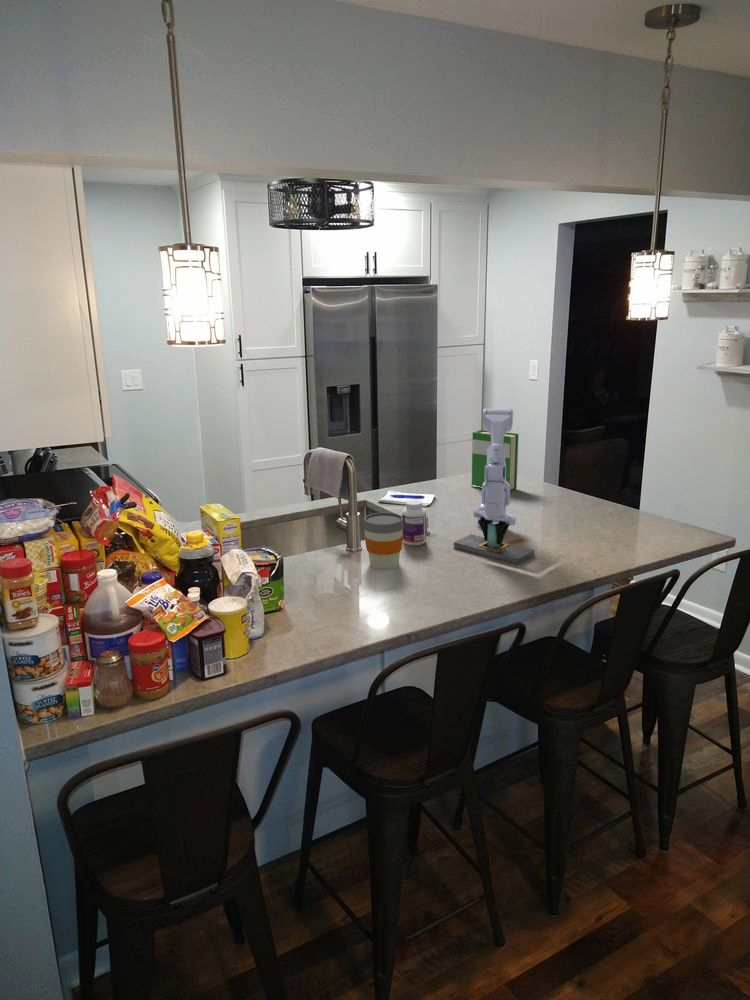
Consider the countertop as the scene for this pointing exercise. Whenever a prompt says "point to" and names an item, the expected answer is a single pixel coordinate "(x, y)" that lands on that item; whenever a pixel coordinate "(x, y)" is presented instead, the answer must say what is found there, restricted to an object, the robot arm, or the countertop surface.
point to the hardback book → (480, 457)
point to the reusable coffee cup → (384, 539)
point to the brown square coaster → (515, 540)
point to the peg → (492, 536)
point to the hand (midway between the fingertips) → (493, 542)
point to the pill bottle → (414, 523)
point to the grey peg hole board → (494, 550)
